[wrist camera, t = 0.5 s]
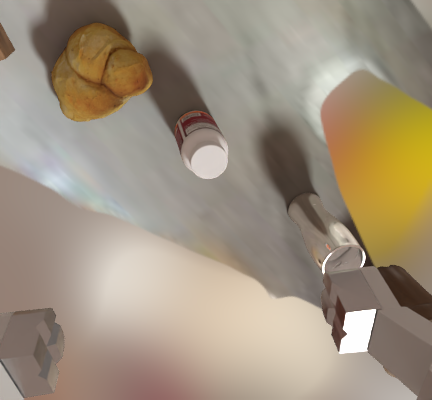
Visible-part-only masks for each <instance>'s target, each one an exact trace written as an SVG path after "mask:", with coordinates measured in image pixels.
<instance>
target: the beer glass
mask: <svg viewBox="0 0 432 400" xmlns="http://www.w3.org/2000/svg"><path fill="white" fill-rule="evenodd" d="M288 215H289V217H290V219H291V220H292V221H293V222H294V223H295V224H297V225H298V227H299V229H300V231H301V234H302V237H303V240H304V243H305V245H306V248H307V250H308V252H309V254H310V256H311V258H312V259H313V260H314V262H315V263H316V265H317V266H318V267H319V269H320V270H321V271H322V272H323V274H324V273H325V272H332V271H339V270H346V269H353V268H362V266H363V264H364V262H365V257H366V256H365V252H364V250H363V249H362V248H361V246H360V244H359V243H358V241H357V240H356V238H355V237H354V236H353V234H352V233H351V232H350V230H349V229H348V228H347V227H346V226H345V225H344V224H343V223H342V222H340V221H339V220H338V219H337V218H335V217H334V216H333V215H331V214H330V213H329V212H328V211H327V210H326V209H325V208H324V206H323V203H322V201H321V199H320V198H319V197H318V196H317V195H316V194H313V193H303V194H301V195H298V196H297V197H295V198H294V199H293V200H292V202H291V203H290V205H289V207H288Z"/></svg>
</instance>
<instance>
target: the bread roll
mask: <svg viewBox="0 0 432 400" xmlns="http://www.w3.org/2000/svg"><path fill="white" fill-rule="evenodd" d="M51 73H52V77H51V78H52V83H53V87H54V90H55V92H56V94H57V96H58V100H59V102H60V108H61V110H62V112H63V114H64V115H65V116H66V117H67V118H69V119H71V120H74V121H79V122H82V121H90V120H91V119H98V118H104V117H106V116H108V115H110V114H112V113H114V112H116V111H118V110H119V109H120V108H121V107H122V106H123V105H124V104H125V103H126V102H127V101H128V100H129V99H130V98H131V97H132V96H137V95H139V94H142V93H144V92H145V91H146V90H147V89H148V88H149V87H150V86H151V84H152V82H153V76H152V72H151V69H150V67H149V64H148V61H147V59H146V58H145V57H144V56H143V55H142V54H140V53H137V51H136V49H135V47H134V46H133V45H132V43H131V42H130V41H128V40H127V39H125V38H124V37H123V36H122V35H120V34H119V33H118V32H117V31H116V29H114V28H111V27H109V26H107V25H105V24H101V23H92V24H89V25H86V26H83V27H81V28H79V29H77V30H76V31H75V32H74V33H73V34H72V35H71V36H70V38H69V40H68V43H67V47H66V48H65V49H64V51H63V53H62V54H61V55H60V57H59V58H58V60H57V62H56V64H55V66H54V68H53V71H52V72H51Z"/></svg>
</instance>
